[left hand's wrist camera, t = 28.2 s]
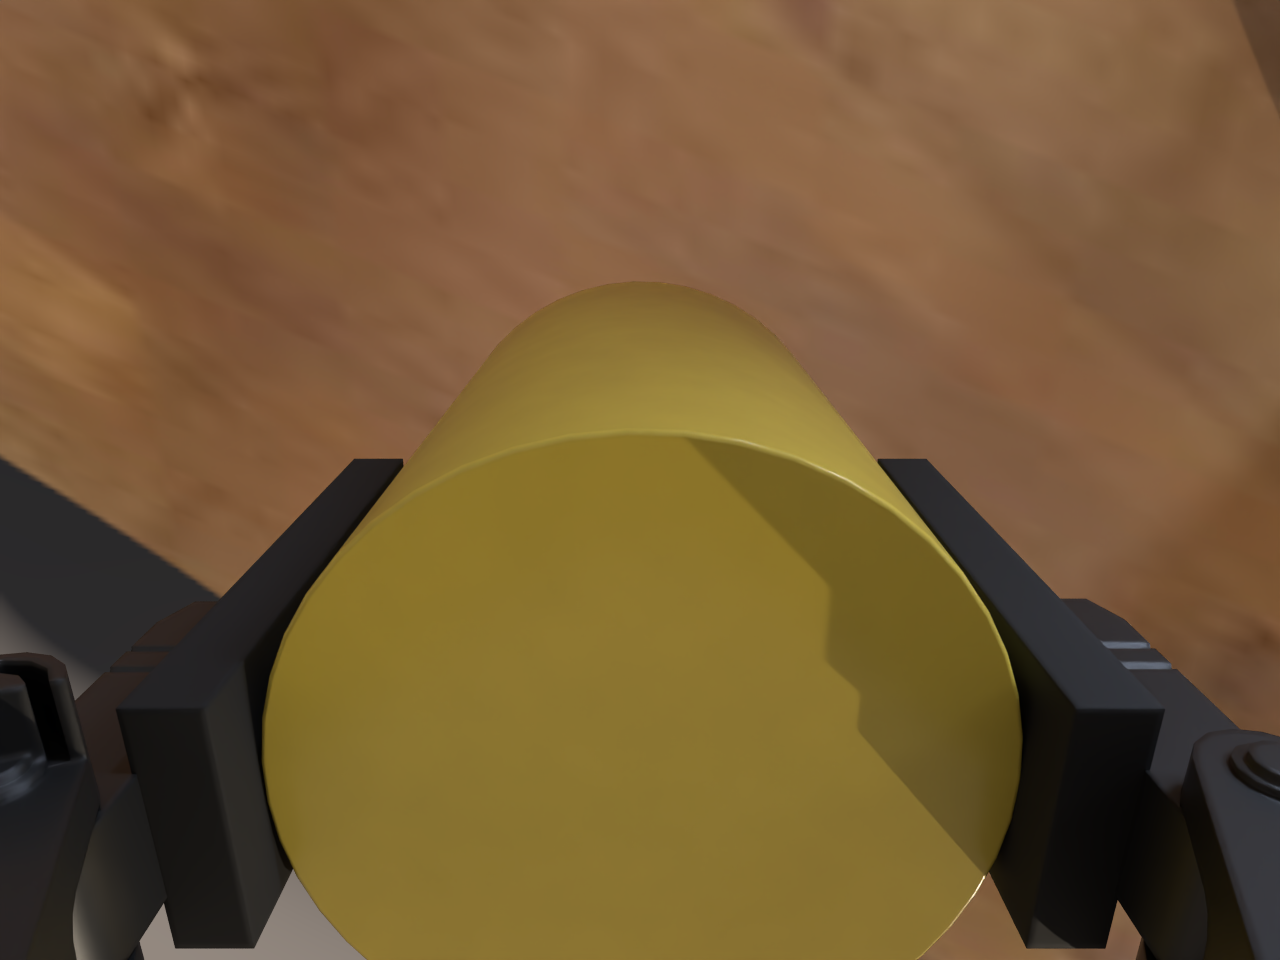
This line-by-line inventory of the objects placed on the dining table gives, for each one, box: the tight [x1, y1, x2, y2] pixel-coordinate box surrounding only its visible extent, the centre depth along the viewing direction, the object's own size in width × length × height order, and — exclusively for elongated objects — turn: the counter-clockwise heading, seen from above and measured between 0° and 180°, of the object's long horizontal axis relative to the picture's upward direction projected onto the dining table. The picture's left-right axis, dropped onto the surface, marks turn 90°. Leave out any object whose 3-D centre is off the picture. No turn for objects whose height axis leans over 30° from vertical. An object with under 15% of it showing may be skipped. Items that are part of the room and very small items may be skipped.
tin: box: [262, 282, 1023, 960], centre depth 13 cm, size 7×7×9 cm
